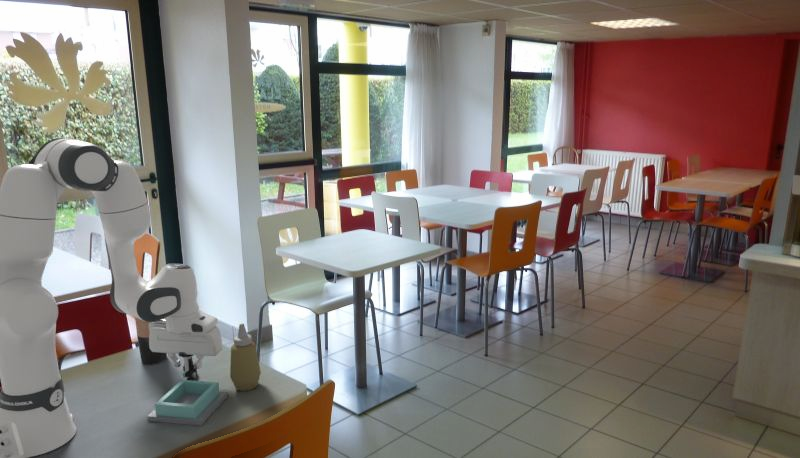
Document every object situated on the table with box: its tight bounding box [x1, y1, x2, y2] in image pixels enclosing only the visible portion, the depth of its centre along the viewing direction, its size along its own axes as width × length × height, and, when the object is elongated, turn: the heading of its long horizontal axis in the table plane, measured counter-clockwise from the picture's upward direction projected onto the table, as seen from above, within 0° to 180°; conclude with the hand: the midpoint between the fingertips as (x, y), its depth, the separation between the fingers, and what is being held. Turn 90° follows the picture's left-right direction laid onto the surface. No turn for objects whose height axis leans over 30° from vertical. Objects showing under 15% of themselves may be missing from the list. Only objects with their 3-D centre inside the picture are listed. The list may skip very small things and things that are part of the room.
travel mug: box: [134, 317, 168, 365], centre depth 171 cm, size 8×8×20 cm
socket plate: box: [147, 379, 229, 426], centre depth 146 cm, size 14×14×4 cm
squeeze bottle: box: [229, 323, 262, 392], centre depth 155 cm, size 8×8×18 cm
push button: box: [177, 352, 198, 380], centre depth 160 cm, size 7×5×10 cm
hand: (187, 367), depth 160 cm, fingers closed on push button, 5 cm apart
